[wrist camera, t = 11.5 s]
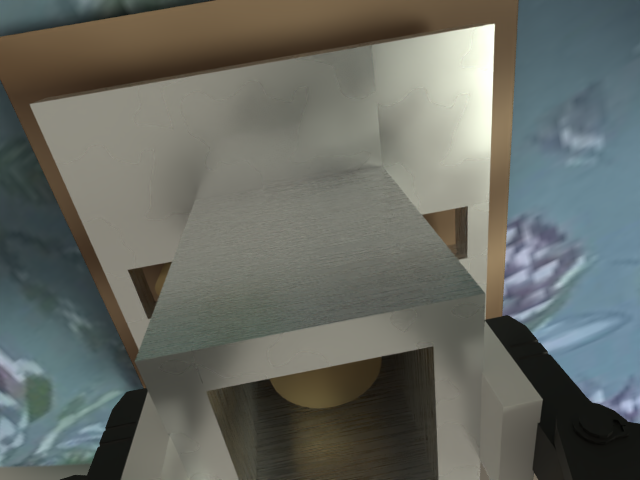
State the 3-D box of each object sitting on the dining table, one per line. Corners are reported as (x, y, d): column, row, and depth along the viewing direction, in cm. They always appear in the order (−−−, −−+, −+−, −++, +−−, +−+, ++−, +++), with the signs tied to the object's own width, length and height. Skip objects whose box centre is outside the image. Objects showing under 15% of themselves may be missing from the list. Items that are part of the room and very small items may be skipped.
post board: (6, 38, 16) (-300, 62, 7) (500, -46, 16) (758, -115, 8) (165, 398, 24) (110, 606, 15) (487, 335, 24) (604, 502, 16)
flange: (477, 23, 14) (745, 29, 6) (472, 349, 21) (602, 555, 13) (47, 97, 14) (-245, 204, 6) (178, 407, 20) (124, 659, 12)
